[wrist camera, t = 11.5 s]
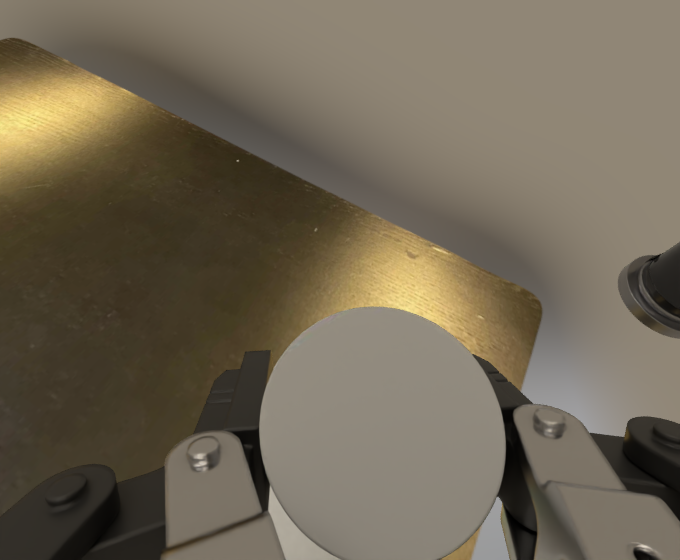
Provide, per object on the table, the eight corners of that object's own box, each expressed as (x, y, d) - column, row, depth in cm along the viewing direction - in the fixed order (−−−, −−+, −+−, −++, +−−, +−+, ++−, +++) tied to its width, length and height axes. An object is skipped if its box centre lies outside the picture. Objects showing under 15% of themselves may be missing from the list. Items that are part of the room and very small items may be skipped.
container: (270, 479, 19) (192, 437, 6) (328, 406, 21) (357, 261, 8) (342, 548, 18) (426, 670, 5) (396, 463, 20) (554, 397, 7)
